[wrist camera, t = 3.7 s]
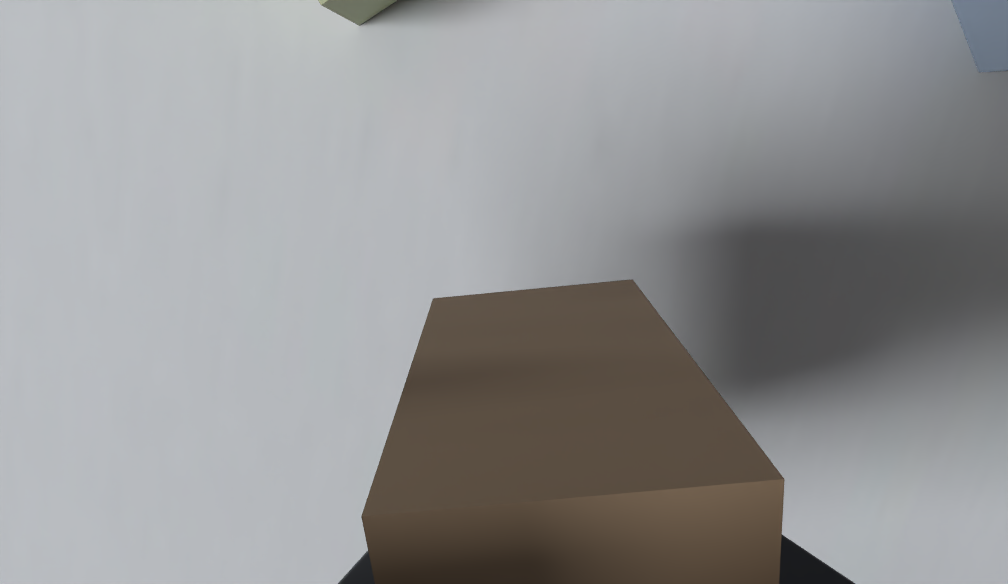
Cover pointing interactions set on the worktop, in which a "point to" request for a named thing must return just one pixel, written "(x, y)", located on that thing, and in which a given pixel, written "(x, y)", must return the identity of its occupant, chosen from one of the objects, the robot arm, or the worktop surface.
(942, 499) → the worktop surface
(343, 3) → the olive brick
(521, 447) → the walnut brick
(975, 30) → the slate brick
